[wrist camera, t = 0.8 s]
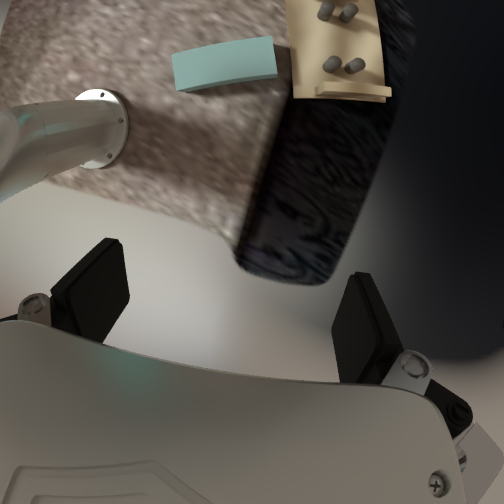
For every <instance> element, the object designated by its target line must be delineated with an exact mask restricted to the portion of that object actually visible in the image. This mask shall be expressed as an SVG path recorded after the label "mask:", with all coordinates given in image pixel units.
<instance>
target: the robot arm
mask: <svg viewBox="0 0 504 504" xmlns="http://www.w3.org/2000/svg"><path fill="white" fill-rule="evenodd" d="M128 128H129V122H128V115H127V110H126V108H125V106H124V104H123V102H122V101H121V99H120V98H119V97H118V96H117V95H116V94H115V93H113V92H111V91H109V90H105V89H91V90H88V91H86V92H84V93H82V94H81V95H79V96H78V97H77V98H76V99H75V100H62V101H51V102H42V103H34V104H27V105H20V106H15V107H11V108H9V109H7V110H4V111H3V112H1V113H0V203H1V202H3V201H4V200H6V199H7V198H9V197H11V196H13V195H14V194H16V193H18V192H20V191H22V190H24V189H26V188H28V187H30V186H32V185H34V184H37V183H39V182H41V181H43V180H45V179H47V178H50V177H52V176H54V175H57V174H59V173H61V172H64V171H66V170H69V169H71V168H74V167H76V166H79V165H80V166H81V167H84V168H87V169H98V168H101V167H104V166H106V165H108V164H110V163H111V162H112V161H114V160H115V159H116V158H117V157H118V155H119V154H120V153H121V151H122V149H123V148H124V145H125V143H126V140H127V136H128ZM50 291H51V294H52V296H51V297H50V298H49V297H48V296H47V295H45V294H43V293H37V294H32V295H29V296H28V297H26V298H25V299H24V300H23V301H22V302H21V303H20V305H19V308H18V314H15V315H12V316H9V317H6V318H2V319H0V504H477V503H478V502H479V500H480V499H481V498H482V496H483V495H484V494H485V492H486V491H487V489H488V488H489V487H490V485H491V484H492V482H493V481H494V479H495V478H496V476H497V475H498V473H499V471H500V470H501V468H502V466H503V463H504V457H503V453H502V451H501V450H500V448H499V447H498V446H497V445H496V443H495V442H494V441H493V440H492V439H491V438H490V436H489V435H488V434H487V433H486V432H485V431H484V430H483V429H482V427H481V426H480V425H479V424H478V423H477V422H476V423H475V424H473V423H472V420H473V414H472V410H471V407H470V406H469V405H468V403H467V402H466V401H464V400H463V399H461V398H460V397H458V396H457V395H455V394H454V393H452V392H451V391H449V390H448V389H446V388H445V387H443V386H442V385H440V384H439V383H437V382H436V381H434V380H433V379H431V376H432V372H433V370H432V366H431V364H430V362H429V361H428V359H427V358H426V357H425V356H423V355H422V354H420V353H418V352H415V351H404V349H403V346H402V344H401V342H400V339H399V336H398V334H397V332H396V329H395V327H394V325H393V322H392V320H391V318H390V315H389V313H388V311H387V309H386V306H385V304H384V302H383V300H382V298H381V296H380V294H379V291H378V289H377V287H376V285H375V283H374V281H373V279H372V277H371V275H370V273H363V272H355V274H354V275H350V277H349V279H348V283H347V286H346V288H345V291H344V294H343V297H342V300H341V303H340V306H339V308H338V311H337V314H336V317H335V320H334V322H333V325H332V330H331V332H332V338H333V344H334V349H335V354H336V361H337V367H338V373H339V379H340V383H338V382H317V381H304V380H290V379H280V378H271V377H262V376H254V375H246V374H239V373H232V372H226V371H219V370H213V369H208V368H202V367H197V366H191V365H186V364H181V363H177V362H172V361H167V360H163V359H158V358H154V357H150V356H146V355H142V354H138V353H134V352H130V351H127V350H123V349H119V348H116V347H112V346H109V345H106V344H102V343H103V341H104V340H105V338H106V336H107V335H108V333H109V332H110V330H111V329H112V327H113V326H114V324H115V322H116V321H117V319H118V318H119V316H120V315H121V313H122V312H123V310H124V308H125V307H126V305H127V304H128V302H129V299H130V294H129V288H128V282H127V275H126V268H125V261H124V253H123V246H122V244H121V243H120V242H119V240H118V239H112V238H104V239H103V240H102V241H101V242H100V243H99V244H97V245H96V246H95V247H94V248H93V249H92V250H91V251H90V252H89V253H87V254H86V255H85V256H84V257H83V258H82V259H81V260H80V261H79V262H78V263H77V264H76V265H75V266H74V267H73V268H72V269H71V270H69V271H68V272H67V274H65V276H63V277H62V278H61V279H60V280H59V281H58V282H57V284H55V285H54V286H53V287H52V288H51V290H50Z"/></svg>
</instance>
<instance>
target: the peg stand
mask: <svg viewBox="0 0 504 504" xmlns="http://www.w3.org/2000/svg"><path fill="white" fill-rule="evenodd" d="M285 8H286V16H287V25H288V35H289V45H290V56H291V68H292V81H293V95H294V98H325V99H347V100H361V101H372V102H381V103H386V100H385V97H391V87H385V81H384V68H383V57H382V48H381V40H380V32H379V25H378V19H377V13H376V8H375V2H374V0H285Z"/></svg>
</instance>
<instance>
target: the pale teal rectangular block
mask: <svg viewBox="0 0 504 504" xmlns="http://www.w3.org/2000/svg"><path fill="white" fill-rule="evenodd" d="M172 63H173V70H174V77H175V84H176V91H181V92H190V91H195V90H200V89H204V88H210V87H215V86H220V85H226V84H232V83H239V82H246V81H253V80H261V79H271V78H277V75H278V73H277V67H276V60H275V54H274V47H273V41H272V36H266V37H257V38H249V39H242V40H236V41H230V42H224V43H219V44H214V45H209V46H204V47H200V48H195V49H191V50H187V51H183V52H179V53H176V54H172Z"/></svg>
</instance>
